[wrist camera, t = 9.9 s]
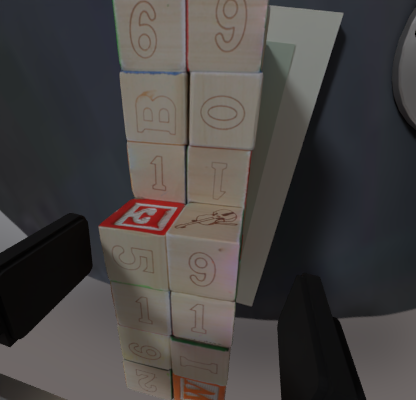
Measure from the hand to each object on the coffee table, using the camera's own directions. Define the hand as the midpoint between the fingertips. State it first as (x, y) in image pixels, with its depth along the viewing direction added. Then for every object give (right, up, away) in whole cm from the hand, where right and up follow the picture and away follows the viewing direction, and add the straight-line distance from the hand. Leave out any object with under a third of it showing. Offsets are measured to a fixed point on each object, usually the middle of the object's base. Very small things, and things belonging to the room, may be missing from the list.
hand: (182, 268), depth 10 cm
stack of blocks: (+2, +5, +11) cm, 12 cm away
